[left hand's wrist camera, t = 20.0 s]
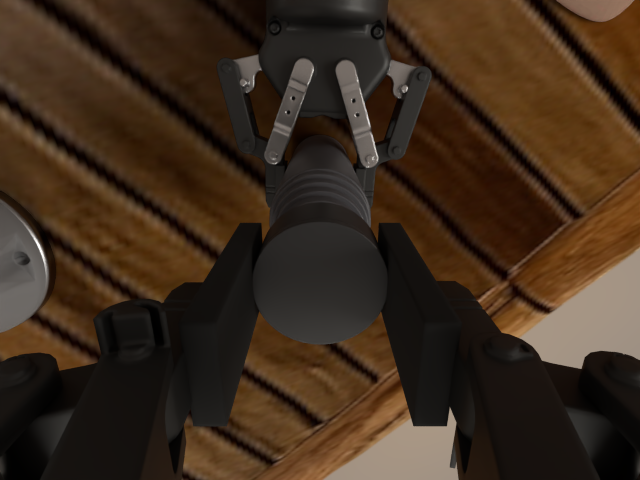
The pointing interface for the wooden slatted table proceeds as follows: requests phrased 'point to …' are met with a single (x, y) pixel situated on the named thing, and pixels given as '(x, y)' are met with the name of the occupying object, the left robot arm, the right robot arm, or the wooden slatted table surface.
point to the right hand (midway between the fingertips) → (319, 213)
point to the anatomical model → (596, 8)
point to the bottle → (320, 179)
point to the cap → (320, 274)
